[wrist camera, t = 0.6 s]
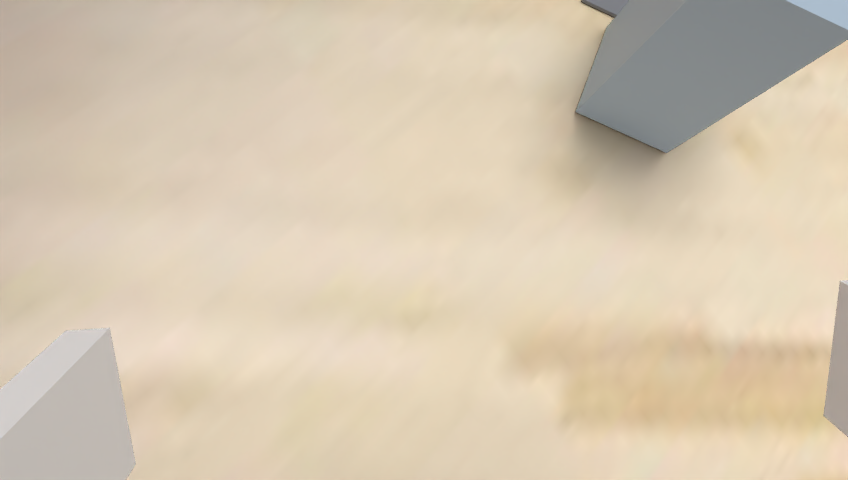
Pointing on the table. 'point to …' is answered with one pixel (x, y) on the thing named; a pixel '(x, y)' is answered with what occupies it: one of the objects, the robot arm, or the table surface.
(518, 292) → the table surface
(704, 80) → the blue-grey rectangular block
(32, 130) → the table surface
